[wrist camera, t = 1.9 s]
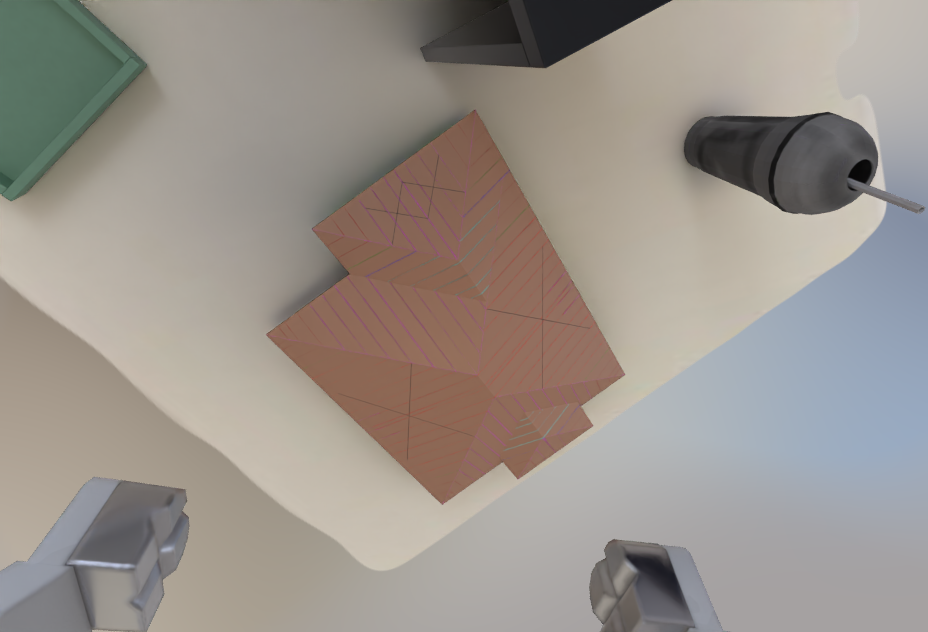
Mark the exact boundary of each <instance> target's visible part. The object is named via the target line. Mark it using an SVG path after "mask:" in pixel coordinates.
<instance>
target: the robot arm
mask: <svg viewBox="0 0 928 632" xmlns="http://www.w3.org/2000/svg"><path fill="white" fill-rule="evenodd" d="M186 502H187V497H186V490H185V489H180V488H173V487H165V486H159V485H152V484H145V483H137V482H130V481H123V480H116V479H108V478H100V477H93V478H92V479H91V480H89V481H88V482H87V483H85V484H84V485H83V486H82V488H81V489H80V491H79V492H78V493H77V494H76V496H75V497H74V499H73V500H72V501H71V503H70V504H69V505H68V507H67V508H66V509H65V511H64V512H63V513H62V515H61V516H60V518H59V519H58V520H57V522H56V523H55V524H54V526H53V527H52V528H51V530H50V531H49V532H48V534H47V535H46V536H45V538H44V540H43V541H42V542H41V543H40V545H39V546H38V547H37V549H36V550H35V552H34V553H33V554H32V556H31V557H30V558H29V560H28V561H27V562H24V561H16V562H15V563H13V564H11V565H10V566H8V567H6V568H5V569H3V570H1V571H0V632H92V630H108V631H125V632H147V630H148V627H149V626H150V624H151V621H152V619H153V617H154V615H155V613H156V611H157V609H158V607H159V604H160V602H161V600H162V598H163V596H164V588H163V579H164V578H166V577H167V576H168V575H170V574H171V573H172V572H174V571H175V570H176V568H177V566H178V564H179V562H180V560H181V557H182V555H183V552H184V549H185V546H186V542H187V539H188V533H189V517H188V516H187V515H186V514H185V513H184V512H183V511H182V510H183V508H184V506H185V504H186ZM604 552H605V555H606V558H605V559H603V560H601V561H599V562H598V563H596V565H595V567H594V569H593V571H592V573H591V580H590V587H589V588H590V600H591V605H592V609H593V613H594V614H595V615H596V616H597V618H598V619H599V620H600V621H601V623H602V624H603V626H602V628H601V631H600V632H728V631H723V629H722V627H721V625H720V622H719V620H718V617H717V615H716V613H715V610H714V608H713V606H712V603H711V601H710V598H709V596H708V594H707V591H706V589H705V587H704V584H703V582H702V580H701V577H700V575H699V573H698V570H697V568H696V566H695V563H694V561H693V558H692V556H691V554H690V553H689V551H687V549H686V548H683V547H675V546H665V545H659V544H654V543H644V542H635V541H625V540H615V539H613V540H612V541H610V542H608V544H607V545H606V547H605V549H604Z"/></svg>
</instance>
